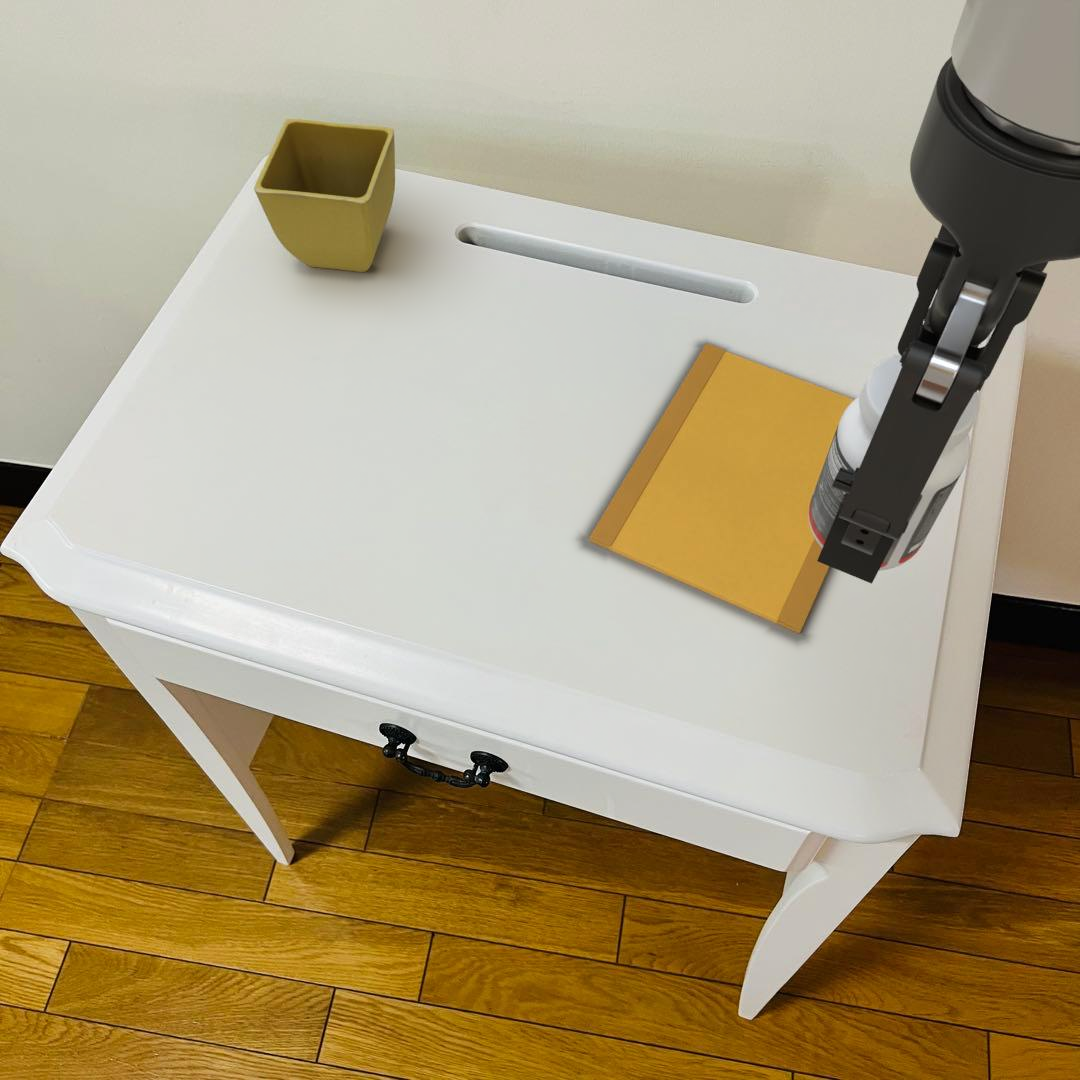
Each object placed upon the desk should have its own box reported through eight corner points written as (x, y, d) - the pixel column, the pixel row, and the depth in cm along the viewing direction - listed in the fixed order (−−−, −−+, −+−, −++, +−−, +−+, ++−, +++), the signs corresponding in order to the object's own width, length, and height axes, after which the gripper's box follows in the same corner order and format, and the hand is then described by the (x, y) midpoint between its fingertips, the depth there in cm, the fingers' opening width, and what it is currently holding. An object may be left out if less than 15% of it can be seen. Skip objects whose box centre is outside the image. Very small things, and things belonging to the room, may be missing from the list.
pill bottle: (886, 468, 54) (950, 330, 45) (944, 556, 51) (1023, 426, 42) (785, 497, 53) (831, 361, 44) (838, 589, 50) (898, 461, 41)
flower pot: (276, 281, 84) (250, 188, 76) (306, 209, 88) (285, 115, 81) (383, 293, 83) (367, 201, 76) (408, 220, 88) (395, 127, 80)
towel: (894, 419, 76) (897, 414, 76) (799, 634, 67) (801, 629, 66) (705, 348, 80) (706, 342, 80) (589, 541, 70) (589, 536, 70)
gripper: (1019, -84, 37) (855, 364, 57) (850, 231, 28) (723, 635, 47) (1242, -31, 35) (993, 413, 55) (1138, 325, 26) (883, 706, 46)
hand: (868, 516), depth 51 cm, fingers closed on pill bottle, 6 cm apart
